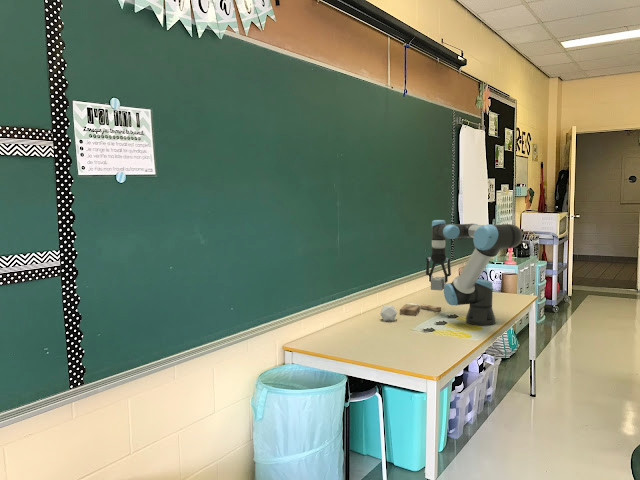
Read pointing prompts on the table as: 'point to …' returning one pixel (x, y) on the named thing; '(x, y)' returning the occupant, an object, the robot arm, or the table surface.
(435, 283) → the block
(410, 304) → the chalk box
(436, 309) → the felt eraser
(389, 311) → the die
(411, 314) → the plinth
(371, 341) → the table surface
